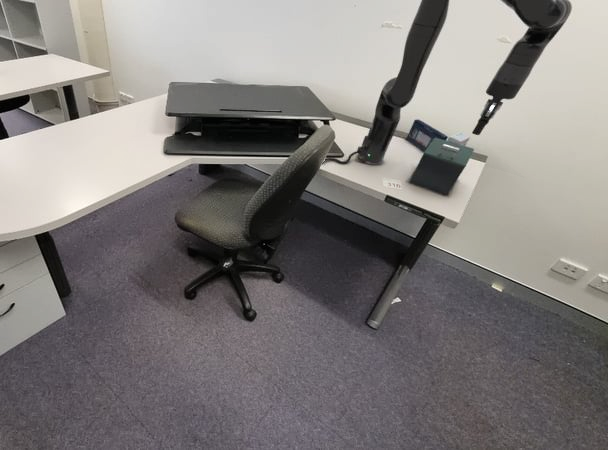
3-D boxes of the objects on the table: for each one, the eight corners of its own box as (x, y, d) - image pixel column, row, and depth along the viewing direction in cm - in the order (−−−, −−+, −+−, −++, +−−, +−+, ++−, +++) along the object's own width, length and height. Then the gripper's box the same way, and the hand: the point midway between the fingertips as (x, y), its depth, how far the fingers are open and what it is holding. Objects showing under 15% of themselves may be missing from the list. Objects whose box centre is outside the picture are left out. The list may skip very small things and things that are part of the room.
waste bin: (446, 196, 123) (465, 166, 114) (408, 182, 129) (423, 153, 121) (455, 179, 132) (473, 150, 123) (419, 167, 138) (434, 139, 130)
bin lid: (464, 167, 114) (472, 154, 111) (423, 154, 120) (429, 141, 117) (473, 150, 123) (480, 138, 120) (434, 139, 130) (440, 127, 127)
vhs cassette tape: (405, 139, 158) (414, 119, 152) (410, 138, 159) (420, 119, 152) (431, 158, 145) (442, 137, 138) (437, 157, 145) (448, 136, 139)
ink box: (446, 166, 139) (460, 141, 132) (434, 161, 142) (448, 136, 135) (456, 161, 143) (471, 136, 135) (445, 156, 146) (459, 131, 138)
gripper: (497, 72, 103) (466, 124, 114) (491, 81, 95) (458, 136, 107) (526, 77, 99) (491, 131, 111) (522, 87, 92) (485, 144, 103)
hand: (475, 133), depth 109 cm, fingers closed
